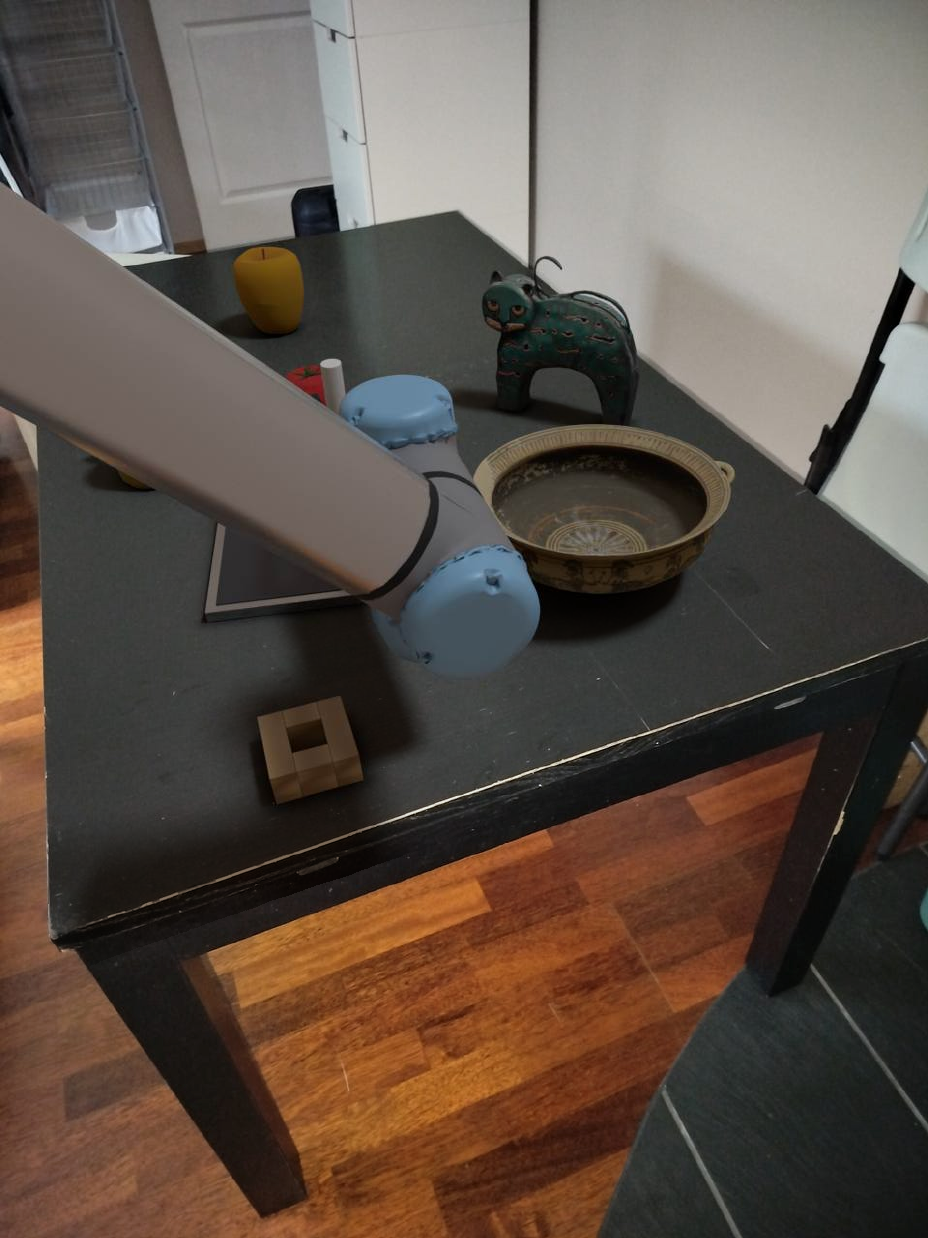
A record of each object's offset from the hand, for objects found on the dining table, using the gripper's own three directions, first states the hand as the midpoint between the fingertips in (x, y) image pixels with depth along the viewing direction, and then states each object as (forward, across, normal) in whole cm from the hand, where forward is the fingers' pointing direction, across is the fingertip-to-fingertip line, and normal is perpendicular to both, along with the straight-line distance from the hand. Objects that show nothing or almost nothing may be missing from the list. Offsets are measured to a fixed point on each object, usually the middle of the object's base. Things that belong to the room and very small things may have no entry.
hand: (328, 403), depth 89 cm
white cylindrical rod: (-5, 0, -8) cm, 10 cm away
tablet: (-5, -6, -13) cm, 15 cm away
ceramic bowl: (-20, +21, -13) cm, 32 cm away
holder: (-36, -10, -13) cm, 39 cm away
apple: (+58, +1, -13) cm, 60 cm away
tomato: (+23, +1, -13) cm, 26 cm away
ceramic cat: (+12, +32, -13) cm, 36 cm away
